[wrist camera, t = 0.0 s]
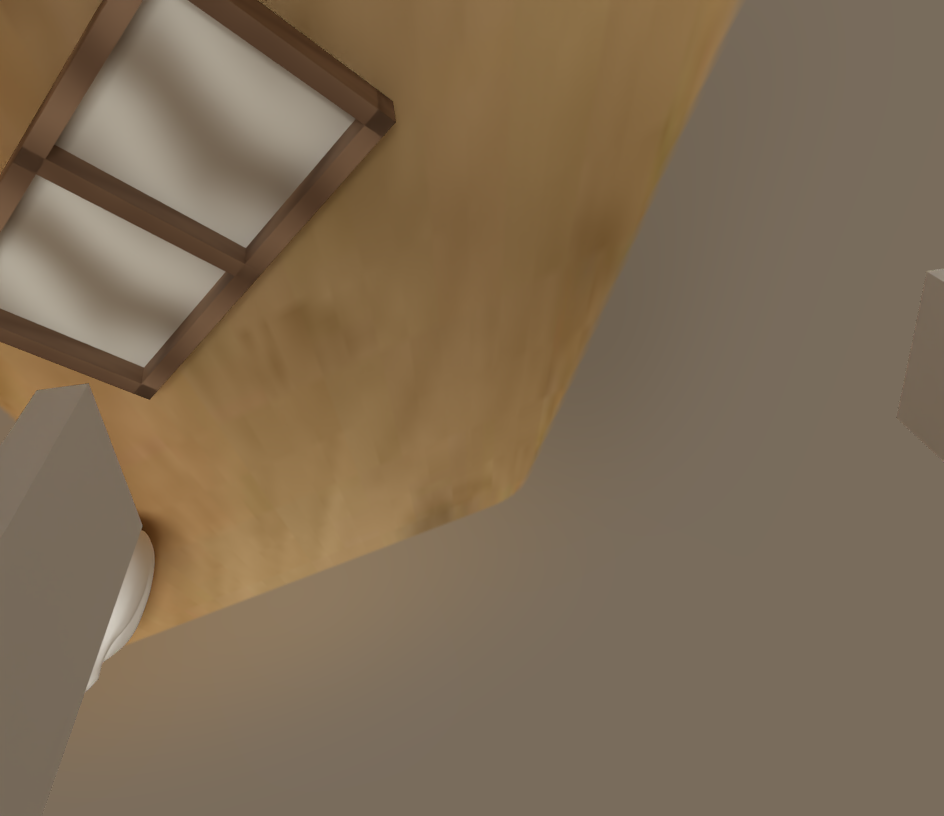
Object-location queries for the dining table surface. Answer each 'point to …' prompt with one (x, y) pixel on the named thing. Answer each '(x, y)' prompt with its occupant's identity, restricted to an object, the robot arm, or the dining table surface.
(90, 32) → the walnut slot rack
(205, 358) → the dining table surface
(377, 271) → the dining table surface
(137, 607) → the banana
